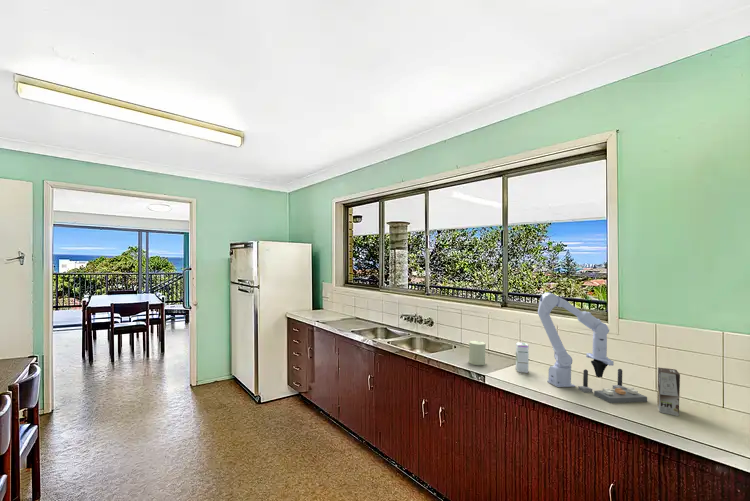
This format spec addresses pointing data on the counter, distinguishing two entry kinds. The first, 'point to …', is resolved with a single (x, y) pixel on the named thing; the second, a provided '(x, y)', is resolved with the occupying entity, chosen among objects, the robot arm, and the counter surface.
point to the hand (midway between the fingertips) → (599, 376)
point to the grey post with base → (619, 381)
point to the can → (477, 352)
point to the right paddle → (632, 391)
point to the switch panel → (620, 397)
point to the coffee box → (668, 391)
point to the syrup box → (522, 357)
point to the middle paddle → (620, 391)
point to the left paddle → (608, 391)
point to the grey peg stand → (585, 383)
